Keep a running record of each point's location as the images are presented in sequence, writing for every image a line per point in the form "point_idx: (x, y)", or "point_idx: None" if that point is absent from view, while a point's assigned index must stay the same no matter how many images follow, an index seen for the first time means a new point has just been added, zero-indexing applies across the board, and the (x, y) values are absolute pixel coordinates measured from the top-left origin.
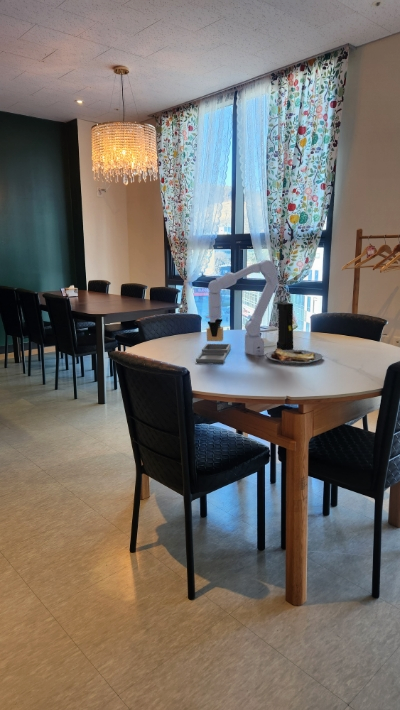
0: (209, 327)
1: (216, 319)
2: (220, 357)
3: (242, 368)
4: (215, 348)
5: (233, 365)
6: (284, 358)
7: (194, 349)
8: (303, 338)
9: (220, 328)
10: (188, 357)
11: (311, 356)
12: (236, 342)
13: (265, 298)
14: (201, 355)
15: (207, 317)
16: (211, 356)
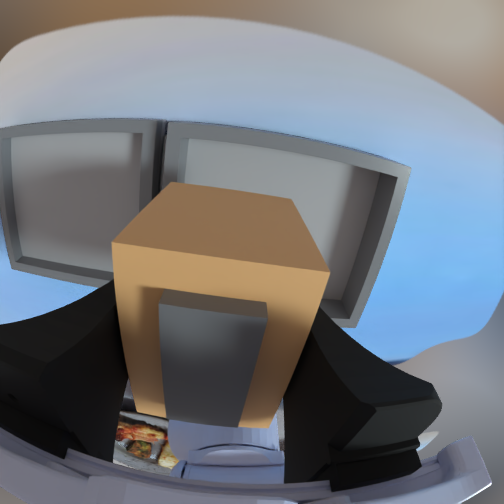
0: (160, 299)
1: (317, 481)
2: (97, 251)
3: (3, 316)
4: (368, 222)
5: (20, 295)
6: (131, 434)
7: (416, 81)
8: (424, 444)
9: (137, 405)
10: (147, 37)
11: (171, 467)
12: (487, 314)
13: None
14: (95, 131)
15: (95, 487)
16: (114, 196)
